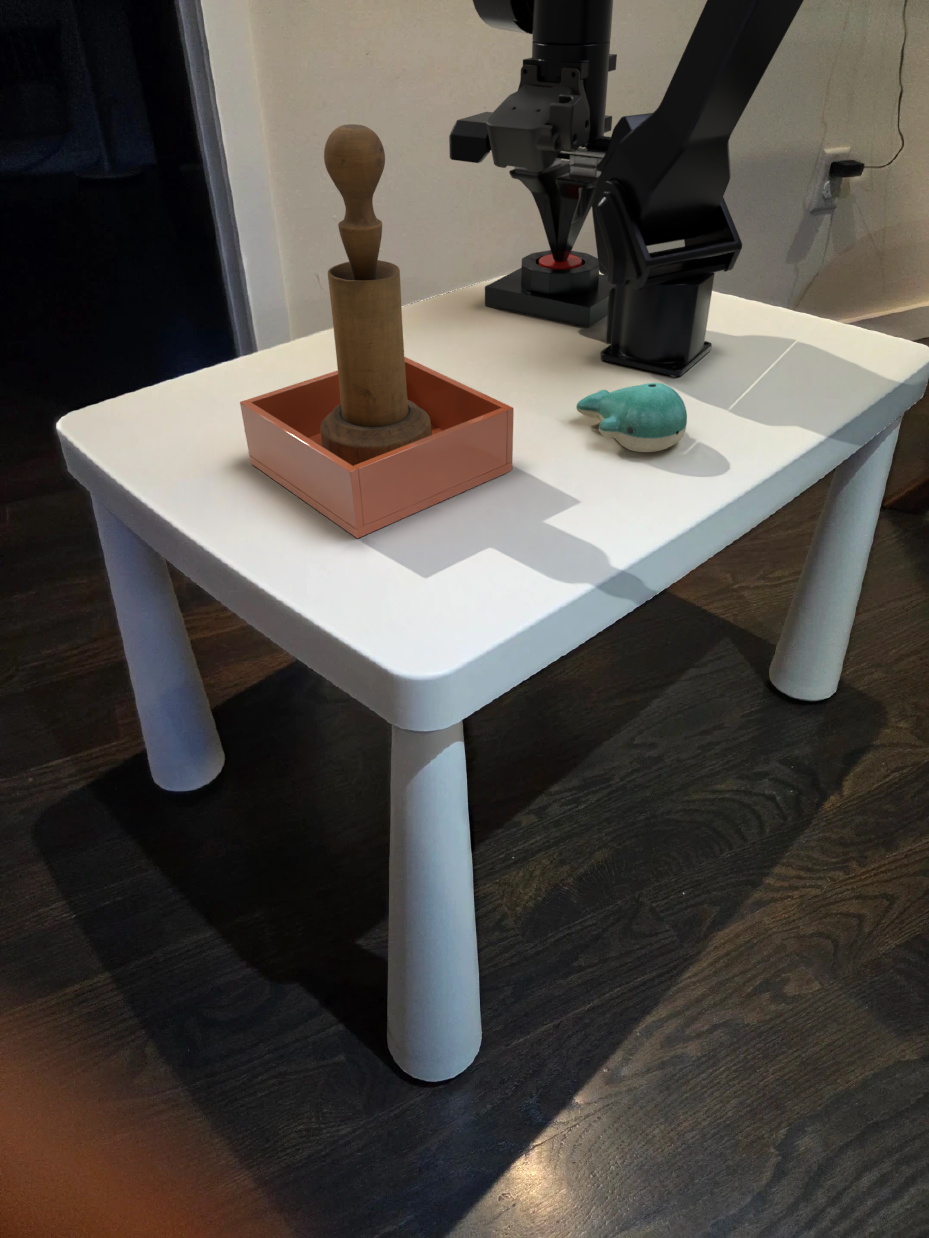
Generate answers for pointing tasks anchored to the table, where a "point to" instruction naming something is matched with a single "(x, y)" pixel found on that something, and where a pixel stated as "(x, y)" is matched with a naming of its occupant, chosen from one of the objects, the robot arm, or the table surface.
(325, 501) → the orange square tray
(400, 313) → the mortar and pestle
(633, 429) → the whale figurine
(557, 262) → the button
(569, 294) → the control block
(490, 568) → the table surface
